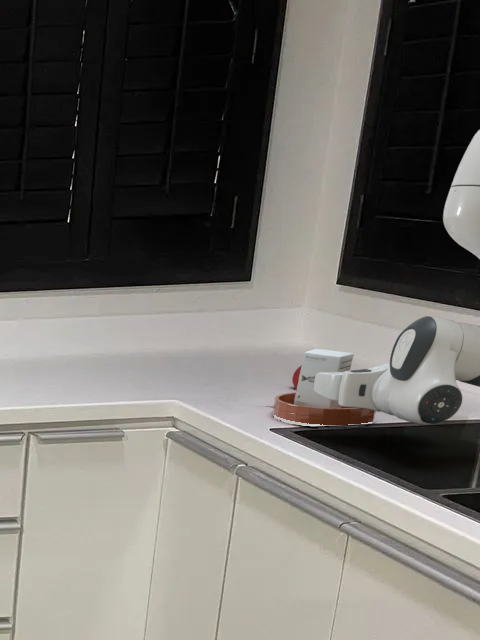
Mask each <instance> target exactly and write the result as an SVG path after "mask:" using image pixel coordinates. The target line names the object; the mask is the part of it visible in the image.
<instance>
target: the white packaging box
mask: <svg viewBox="0 0 480 640" xmlns="http://www.w3.org/2000/svg"><path fill="white" fill-rule="evenodd" d="M354 355H355V353H352V352H346V351H338V350H330V349H325V348H323V349H322V348H314V349H311V350H308V351H307V350H306V351H304V354H303V358H302V363H301V365H302V367H301V371H300V376H299V381H298V386H297V389H296V391H295V392H296V395H295V400H294V404H295V405H300V406H308V407H319V408H341V407H342V406H340V405H339V401H335V400H331V399H328V398H326V397H323V396H321V395H319V394H317V393H316V392H315V391H314V381H315V376H316V374H317V373H319V372H345V371H351V367H352V363H353V359H354Z"/></svg>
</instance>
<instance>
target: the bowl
mask: <svg viewBox="0 0 480 640" xmlns="http://www.w3.org/2000/svg"><path fill="white" fill-rule="evenodd" d="M295 395H296V391H295V392H287V393H282V394H278V395H276V396H275V397H274V400H273V407H272V408H273V409H272V415H273V414H274V415H276V416H277V417H280V418H283V419H286V420H290V421H295V422H301V423H307V424H308V423H309V424H320V425H322V424H323V425H348V424H361V423H368V422H373V421H374V422H375V420H376V414H377V411H374V410H371V409H366V408H365V409H364V408H352V407H343V406H342V407H341V408H319V407H308V406H300V405H295V404H294V400H295Z"/></svg>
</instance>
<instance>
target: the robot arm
mask: <svg viewBox="0 0 480 640" xmlns="http://www.w3.org/2000/svg"><path fill="white" fill-rule="evenodd" d="M442 222H443V225H444V228H445V230H446V232H447V233H448V235H449V237H451V238H452V240H454V242H456V243H457V244H458V245H459V246H461V247H462V248H464V249H465V250H467V251H469V252H470V253H472V255H474V256H476V257H477V258H478V260H480V129H478V130H477V132H476V133H475V134H474V136H473V137H472V138H471V141H470V142H469V144H468V146H467V148H466V150H465V152H464V154H463V156H462V158H461V160H460V162H459V164H458V166H457V169H456V172H455V174H454V176H453V180H452V182H451V185H450V188H449V191H448V194H447V197H446V200H445V204H444V208H443V214H442ZM457 381H459V382H460V383H464V384H466V385H467V384H468V385H470V386H471V385H472V386H475V387H478V388H480V324H479V325H478V324H472V323H466V322H463V321H462V322H461V321H456V320H453V319H448V318H447V319H446V318H441V317H436V316H429V315H426V316H423V317H420V318H418V319H416V320H414V321H413V322H412V323H410V324H409V325H407V326H406V327H405V329H403V330H402V331H401V332H400V333H399V335H398V336H397V337H396V339H395V342H394V344H393V347H392V350H391V353H390V358H389V362H388V363H384V364H381V365H375V366H372V367H368V368H362V369H353V370H352V369H350V371H345V372H319V373H317V374H316V376H315V381H314V391H315V392H316V393H317V394H319V395H321V396H323V397H326V398H328V399H331V400H335V401H339V405H340V406H343V407H352V408H364V409H365V408H366V409H371V410H374V411H376V413H384V414H386V415H390V416H395V417H396V418H398V419H400V420H403V421H406V422H408V423H412V424H416V425H423V426H430V425H431V426H432V425H437V424H440V423H443V422H445V421H448V420H449V419H451V418H452V417H453V416H455V415H456V414H457V413H458V411H459V410H460V409H461V406H462V403H463V399H464V397H463V392H462V390H461V389H460V387H459V386H458V383H457Z"/></svg>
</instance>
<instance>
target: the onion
mask: <svg viewBox="0 0 480 640" xmlns="http://www.w3.org/2000/svg"><path fill="white" fill-rule="evenodd" d="M301 367H302V364H301V365H300V366H299V367H297V368H296V370H294V372H293V375H292V378H291V379H292V381H291V382H292V385H293V386H294V388H295V389H296V390H297V386H298V381H299V376H300V371H301Z"/></svg>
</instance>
